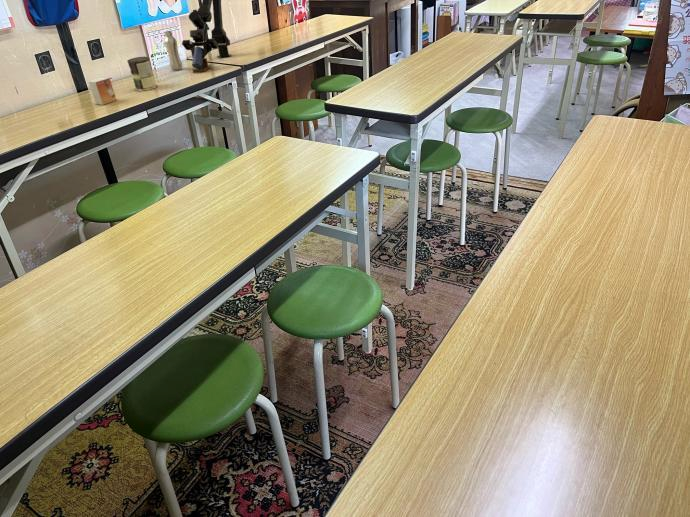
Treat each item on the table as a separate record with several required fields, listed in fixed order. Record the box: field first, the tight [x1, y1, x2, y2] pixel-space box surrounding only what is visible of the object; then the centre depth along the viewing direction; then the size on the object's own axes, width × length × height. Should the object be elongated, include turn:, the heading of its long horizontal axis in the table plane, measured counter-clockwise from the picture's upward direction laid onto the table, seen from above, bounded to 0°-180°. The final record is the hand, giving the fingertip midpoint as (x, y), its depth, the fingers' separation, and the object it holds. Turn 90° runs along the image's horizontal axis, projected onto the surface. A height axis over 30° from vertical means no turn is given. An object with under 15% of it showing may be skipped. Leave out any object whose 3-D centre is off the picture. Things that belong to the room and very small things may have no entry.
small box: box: [88, 77, 117, 106], centre depth 242 cm, size 8×6×10 cm
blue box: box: [191, 46, 203, 69], centre depth 279 cm, size 11×5×11 cm, turn 169°
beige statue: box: [164, 30, 183, 71], centre depth 285 cm, size 6×7×20 cm
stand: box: [192, 57, 212, 73], centre depth 283 cm, size 8×7×6 cm
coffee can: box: [126, 56, 157, 92], centre depth 258 cm, size 10×10×14 cm
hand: (198, 58), depth 279 cm, fingers closed on blue box, 5 cm apart
